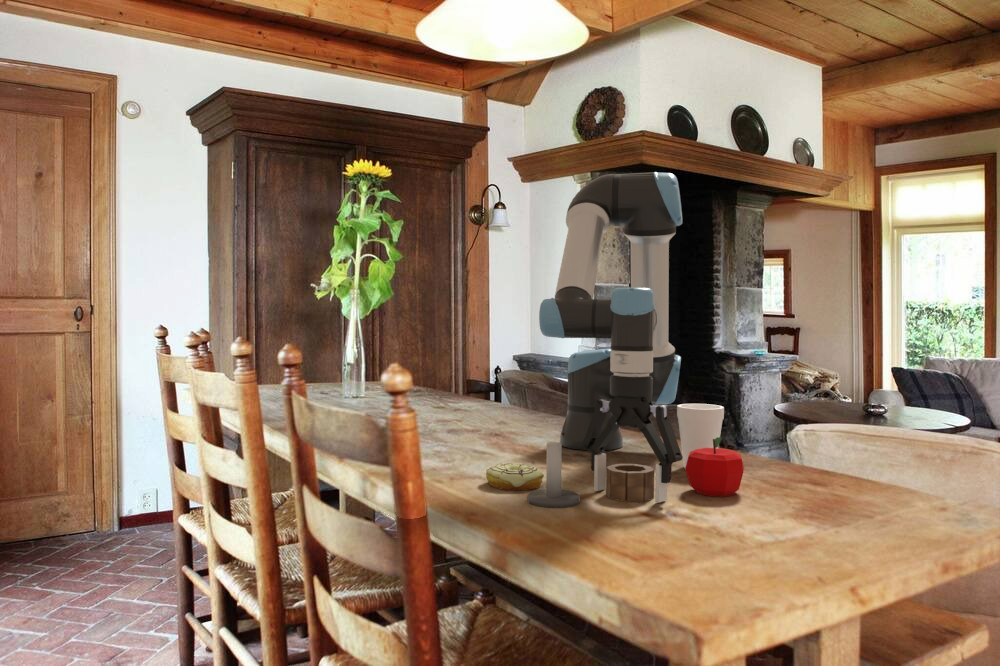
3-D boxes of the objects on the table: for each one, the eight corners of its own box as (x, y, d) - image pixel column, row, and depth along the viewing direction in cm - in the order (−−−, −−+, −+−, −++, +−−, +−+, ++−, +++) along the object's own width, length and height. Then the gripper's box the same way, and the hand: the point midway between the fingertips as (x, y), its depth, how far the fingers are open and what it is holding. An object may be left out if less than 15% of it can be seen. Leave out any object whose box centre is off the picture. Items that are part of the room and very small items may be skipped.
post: (548, 492, 145) (549, 437, 145) (589, 500, 140) (590, 443, 139) (517, 501, 139) (517, 444, 138) (559, 510, 133) (559, 450, 132)
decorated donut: (522, 495, 144) (523, 474, 144) (475, 487, 150) (475, 467, 150) (552, 484, 153) (552, 465, 152) (506, 477, 159) (506, 458, 158)
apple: (731, 502, 139) (732, 445, 139) (675, 493, 145) (675, 438, 145) (753, 491, 147) (754, 437, 147) (698, 483, 154) (699, 431, 153)
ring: (622, 488, 149) (622, 462, 148) (660, 495, 143) (661, 468, 143) (598, 496, 143) (598, 468, 142) (637, 503, 137) (638, 475, 137)
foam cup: (702, 474, 161) (703, 410, 161) (667, 467, 169) (668, 405, 168) (731, 469, 167) (733, 407, 166) (697, 461, 174) (697, 402, 174)
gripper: (563, 371, 147) (562, 488, 148) (683, 380, 131) (680, 510, 132) (586, 369, 153) (585, 481, 154) (703, 377, 137) (701, 502, 138)
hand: (629, 495), depth 143 cm, fingers open, 12 cm apart
